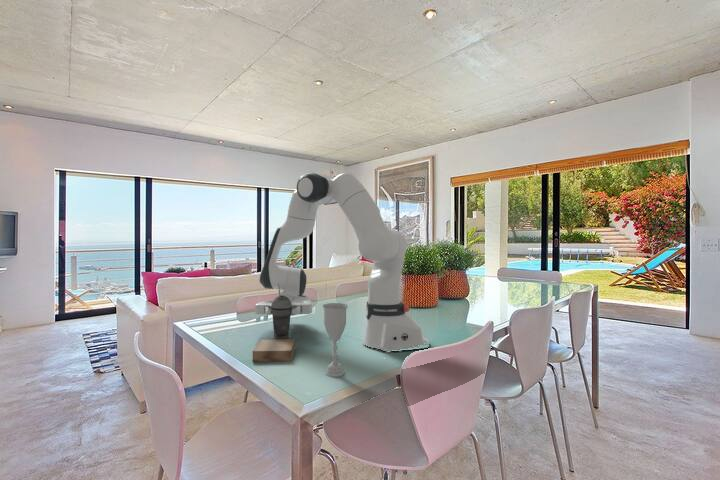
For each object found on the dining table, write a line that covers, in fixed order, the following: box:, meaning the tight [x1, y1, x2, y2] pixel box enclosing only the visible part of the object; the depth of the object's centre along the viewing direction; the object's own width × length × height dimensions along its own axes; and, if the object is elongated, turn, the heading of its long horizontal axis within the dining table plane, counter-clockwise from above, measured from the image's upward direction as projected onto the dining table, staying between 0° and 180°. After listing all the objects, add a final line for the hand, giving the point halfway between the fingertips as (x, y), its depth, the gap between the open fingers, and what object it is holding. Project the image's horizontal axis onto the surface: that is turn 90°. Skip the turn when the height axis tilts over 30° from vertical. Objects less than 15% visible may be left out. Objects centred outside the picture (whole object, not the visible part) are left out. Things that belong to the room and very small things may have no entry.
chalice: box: [322, 302, 349, 378], centre depth 92 cm, size 7×7×18 cm
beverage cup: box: [271, 283, 292, 339], centre depth 119 cm, size 7×7×20 cm
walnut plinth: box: [252, 338, 296, 362], centre depth 105 cm, size 11×11×3 cm
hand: (281, 312), depth 118 cm, fingers open, 7 cm apart
